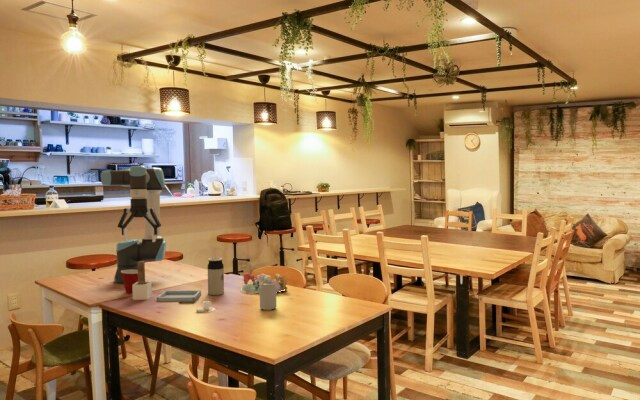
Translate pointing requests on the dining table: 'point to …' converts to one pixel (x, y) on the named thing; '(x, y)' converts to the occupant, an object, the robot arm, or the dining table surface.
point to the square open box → (142, 291)
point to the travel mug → (215, 276)
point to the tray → (180, 296)
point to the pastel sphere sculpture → (261, 278)
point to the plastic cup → (129, 279)
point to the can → (267, 295)
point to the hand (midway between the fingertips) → (139, 241)
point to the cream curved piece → (205, 307)
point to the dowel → (141, 272)
